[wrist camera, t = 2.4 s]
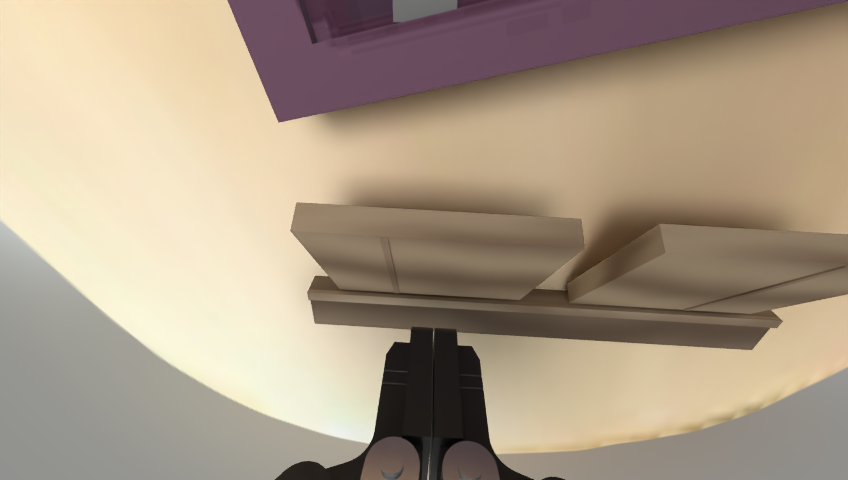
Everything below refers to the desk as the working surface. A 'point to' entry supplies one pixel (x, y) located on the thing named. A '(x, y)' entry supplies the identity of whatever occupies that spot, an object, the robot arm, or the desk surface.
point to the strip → (538, 317)
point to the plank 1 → (435, 249)
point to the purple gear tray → (452, 40)
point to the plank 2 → (717, 270)
